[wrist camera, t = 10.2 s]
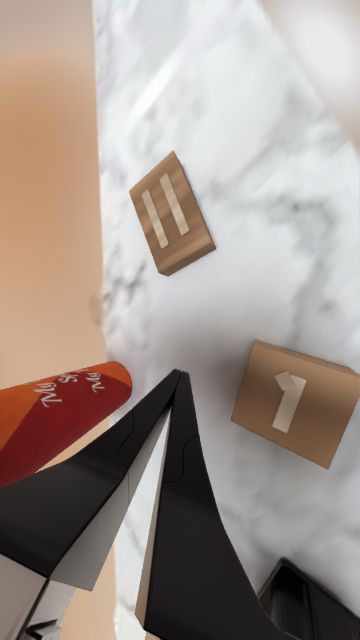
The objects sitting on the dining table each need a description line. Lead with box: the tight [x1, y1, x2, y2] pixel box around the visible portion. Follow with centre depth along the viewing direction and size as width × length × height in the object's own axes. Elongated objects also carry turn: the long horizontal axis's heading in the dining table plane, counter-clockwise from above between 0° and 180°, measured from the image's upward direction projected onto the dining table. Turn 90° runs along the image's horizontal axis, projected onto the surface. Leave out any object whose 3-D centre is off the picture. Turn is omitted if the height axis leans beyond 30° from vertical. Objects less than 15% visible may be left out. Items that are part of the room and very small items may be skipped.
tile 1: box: [230, 340, 360, 469], centre depth 15 cm, size 7×7×3 cm
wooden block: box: [129, 151, 216, 276], centre depth 19 cm, size 3×6×10 cm
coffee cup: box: [0, 362, 132, 487], centre depth 18 cm, size 8×8×15 cm
